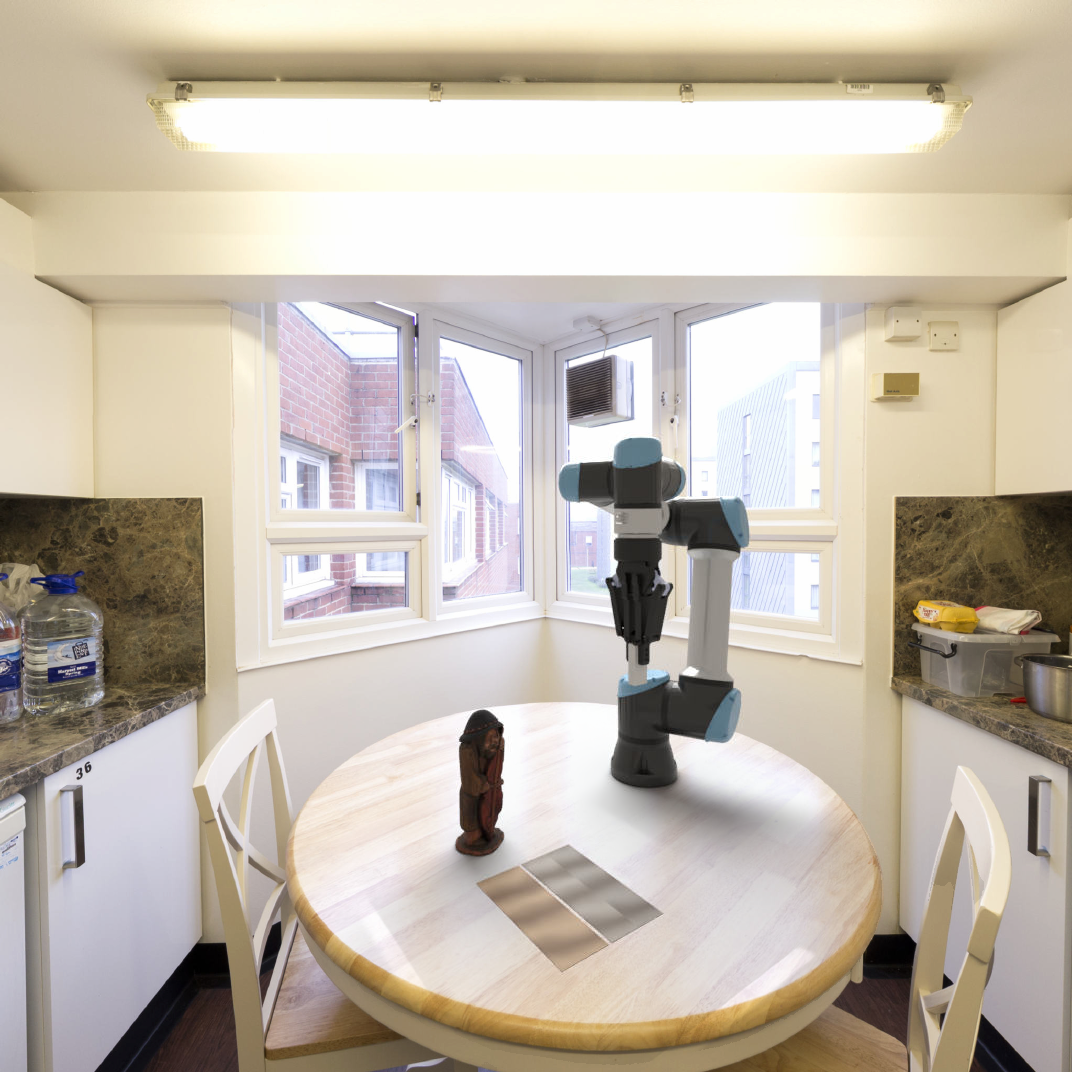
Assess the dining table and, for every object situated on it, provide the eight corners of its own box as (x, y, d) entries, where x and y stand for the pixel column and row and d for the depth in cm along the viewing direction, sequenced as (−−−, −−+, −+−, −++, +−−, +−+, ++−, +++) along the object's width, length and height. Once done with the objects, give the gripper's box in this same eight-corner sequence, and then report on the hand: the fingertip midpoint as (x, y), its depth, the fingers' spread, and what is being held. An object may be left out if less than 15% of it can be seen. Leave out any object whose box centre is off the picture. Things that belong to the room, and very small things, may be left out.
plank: (476, 892, 92) (475, 883, 92) (518, 874, 96) (518, 865, 96) (561, 983, 74) (561, 971, 74) (608, 955, 78) (608, 944, 78)
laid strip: (521, 872, 97) (521, 864, 97) (568, 852, 102) (568, 844, 102) (612, 953, 79) (612, 942, 79) (663, 923, 85) (663, 913, 84)
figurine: (481, 871, 97) (480, 723, 97) (445, 857, 101) (443, 715, 101) (515, 842, 106) (513, 706, 105) (479, 830, 110) (478, 699, 109)
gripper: (592, 535, 96) (593, 678, 96) (651, 537, 85) (651, 698, 86) (625, 534, 100) (626, 671, 101) (685, 536, 89) (685, 689, 90)
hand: (637, 683), depth 93 cm, fingers closed
